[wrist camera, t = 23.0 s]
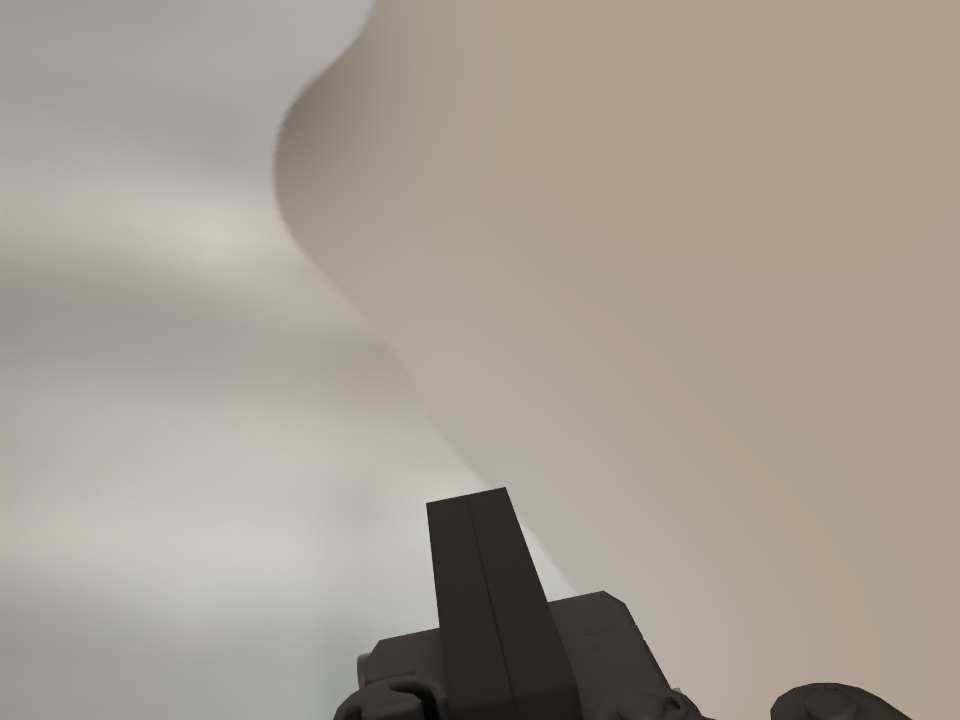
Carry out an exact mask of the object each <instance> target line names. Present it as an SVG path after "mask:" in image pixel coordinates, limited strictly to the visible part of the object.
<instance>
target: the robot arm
mask: <svg viewBox="0 0 960 720" xmlns="http://www.w3.org/2000/svg"><path fill="white" fill-rule="evenodd" d="M426 507H427V516H428V525H429V534H430V543H431V552H432V561H433V571H434V580H435V589H436V598H437V607H438V616H439V625H440V628H436V629H431V630H426V631H421V632H417V633H412V634H407V635H402V636H398V637H393V638H388V639H383V640H380V641H379V642H378V643H377V645H376V646H375V648H374V649H373V651H372V652H371V654H370V655H369V657H368V658H367V659H366V661H365V678H364V683H365V686H364V687H363V688H362V689H360V690H358V691H357V692H355V693H353V694H351V695H350V696H349V697H348V698H347V699H346V700H345V701H344V702H343V703H342V704H341V705H340V706H339V707H338V709H337V711H336V714H335V716H334V719H333V720H715V719H711V718H706V717H704V716H702V715H701V713H700V711H699V710H698V708H697V706H696V705H695V704H694V703H693V702H692V701H691V700H690V699H689V698H688V697H687V696H686V695H684V694H682V693H679V692H677V691H675V690H673V689H671V688H670V686H669V684H668V682H667V680H666V678H665V677H664V675H663V673H662V671H661V669H660V667H659V665H658V664H657V662H656V660H655V658H654V656H653V654H652V653H651V651H650V649H649V647H648V645H647V644H646V642H645V640H643V636H642V634H641V632H640V631H639V629H638V627H637V625H635V622H634V620H633V618H632V616H631V614H630V612H629V610H628V608H627V607H626V605H625V603H623V602H621V601H620V600H618V599H616V598H615V597H613V596H611V595H610V594H608V593H606V592H605V591H600V592H595V593H590V594H585V595H581V596H576V597H571V598H566V599H562V600H557V601H552V602H547V599H546V596H545V594H544V591H543V588H542V585H541V583H540V580H539V577H538V575H537V572H536V569H535V566H534V564H533V561H532V558H531V555H530V553H529V550H528V547H527V544H526V542H525V539H524V536H523V533H522V531H521V528H520V525H519V523H518V520H517V517H516V514H515V512H514V509H513V506H512V503H511V501H510V498H509V496H508V492H507V490H506V487H503V488H499V489H493V490H488V491H483V492H479V493H474V494H469V495H464V496H459V497H454V498H449V499H444V500H439V501H434V502H429V503H426ZM770 713H771V720H912V719H910V718H909V717H907V716H906V715H904V714H903V713H901V712H900V711H899V710H897V709H896V708H894V707H893V706H891V705H890V704H888V703H887V702H885V701H884V700H882V699H881V698H879V697H877V696H875V695H873V694H871V693H869V692H867V691H865V690H863V689H861V688H858V687H853V686H848V685H844V684H839V683H812V684H808V685H804V686H801V687H796V688H793V689H791V690H790V691H788V692H787V693H785V694H783V695H782V696H780V697H778V698H777V700H776V702H775V703H774V705H773V707H772V708H771V710H770Z"/></svg>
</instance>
